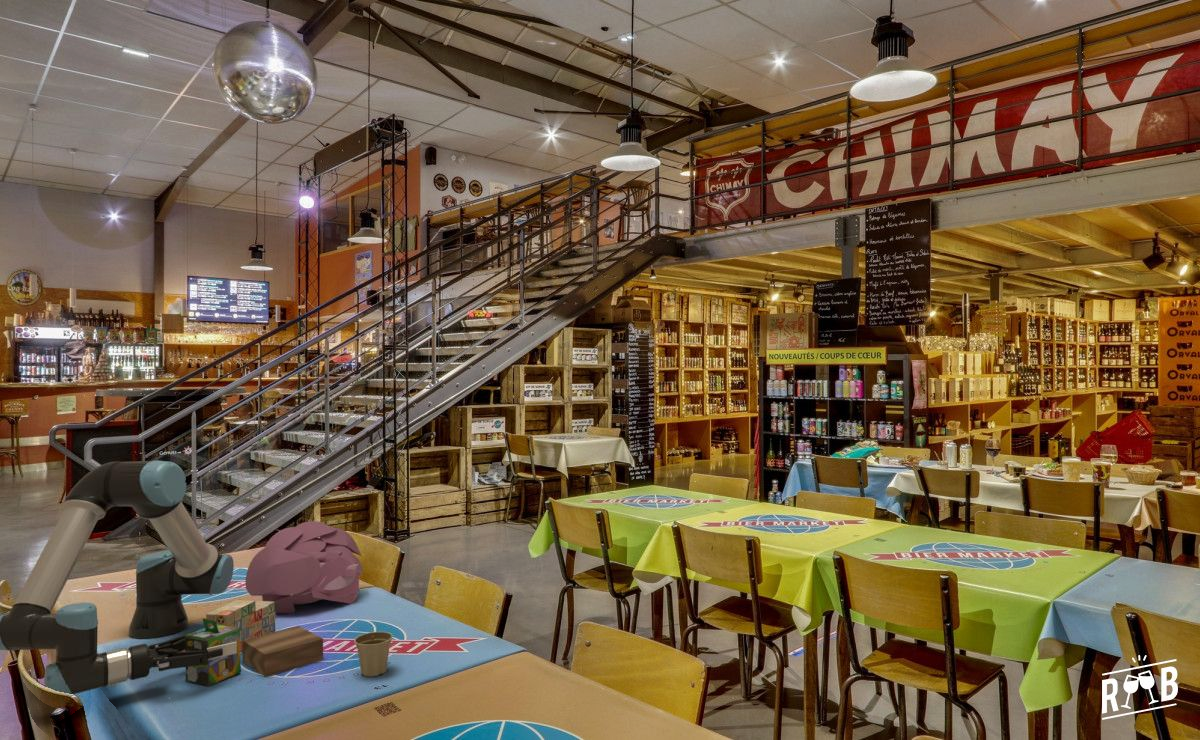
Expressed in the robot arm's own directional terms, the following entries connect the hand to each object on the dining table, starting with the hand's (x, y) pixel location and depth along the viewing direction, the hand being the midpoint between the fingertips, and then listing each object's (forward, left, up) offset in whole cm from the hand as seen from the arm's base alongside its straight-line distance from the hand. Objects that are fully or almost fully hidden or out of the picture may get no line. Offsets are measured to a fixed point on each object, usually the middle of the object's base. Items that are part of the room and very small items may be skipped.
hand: (229, 640), depth 181 cm
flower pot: (+25, +27, -8) cm, 38 cm away
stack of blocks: (-19, +8, -8) cm, 22 cm away
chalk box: (0, -4, -8) cm, 9 cm away
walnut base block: (+1, +13, -8) cm, 15 cm away
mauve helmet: (-44, +37, -8) cm, 58 cm away
